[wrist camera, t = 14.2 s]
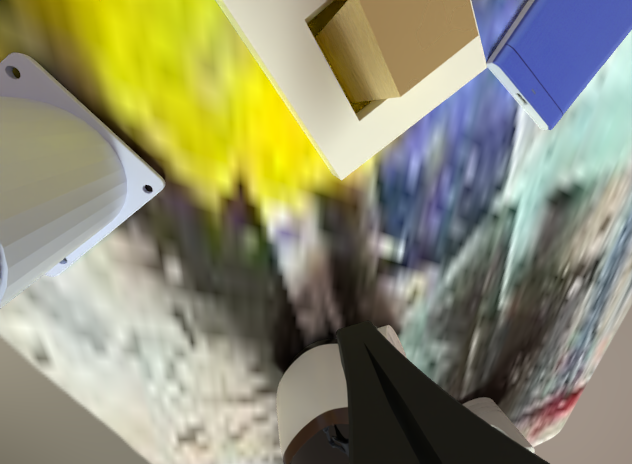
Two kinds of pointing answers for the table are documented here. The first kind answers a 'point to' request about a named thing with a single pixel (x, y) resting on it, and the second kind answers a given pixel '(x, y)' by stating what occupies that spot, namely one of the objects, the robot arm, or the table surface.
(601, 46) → the hard drive
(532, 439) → the table surface
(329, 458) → the spread jar
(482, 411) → the engine component
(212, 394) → the table surface
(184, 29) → the table surface
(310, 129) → the frame
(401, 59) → the block
